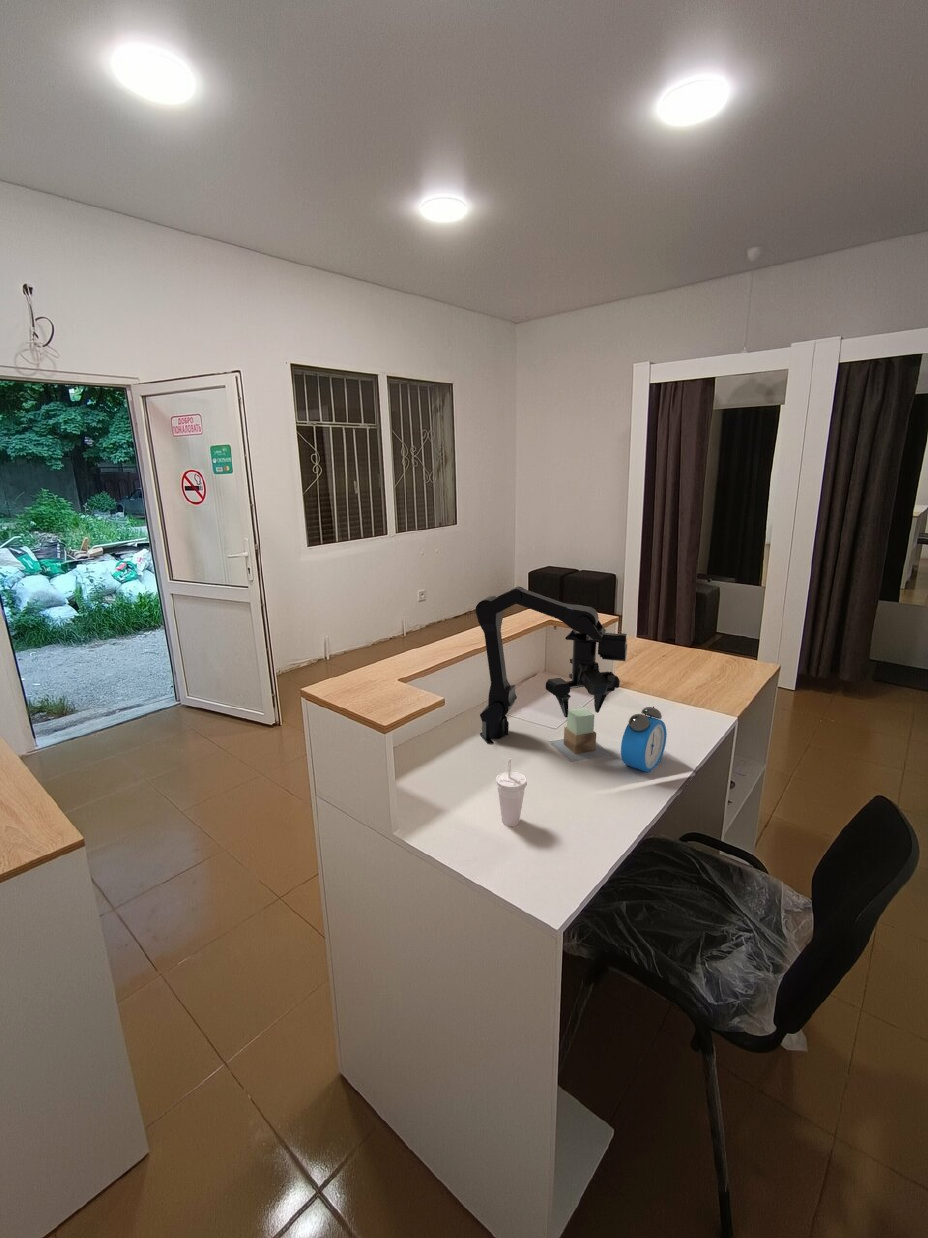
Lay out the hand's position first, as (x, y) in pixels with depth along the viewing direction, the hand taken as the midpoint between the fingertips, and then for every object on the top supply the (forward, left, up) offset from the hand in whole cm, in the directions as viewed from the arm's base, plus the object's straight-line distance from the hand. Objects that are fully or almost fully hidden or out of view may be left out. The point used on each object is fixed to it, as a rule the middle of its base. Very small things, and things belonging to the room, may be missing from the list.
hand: (581, 714), depth 146 cm
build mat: (0, 0, -10) cm, 10 cm away
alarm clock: (+10, -13, -11) cm, 19 cm away
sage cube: (0, 0, -4) cm, 4 cm away
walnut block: (0, 0, -9) cm, 9 cm away
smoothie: (-30, -23, -11) cm, 39 cm away
